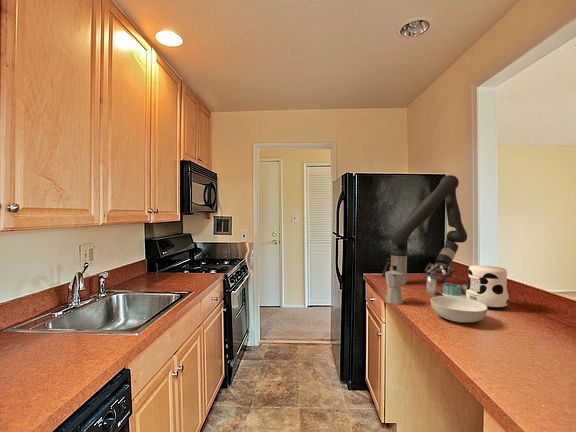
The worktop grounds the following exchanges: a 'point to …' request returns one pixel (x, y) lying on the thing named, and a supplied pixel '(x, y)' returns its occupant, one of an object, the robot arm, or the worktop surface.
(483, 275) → the milk container
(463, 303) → the serving bowl
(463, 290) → the fitting plate
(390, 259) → the door stopper
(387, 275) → the coffee maker
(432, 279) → the salt shaker
